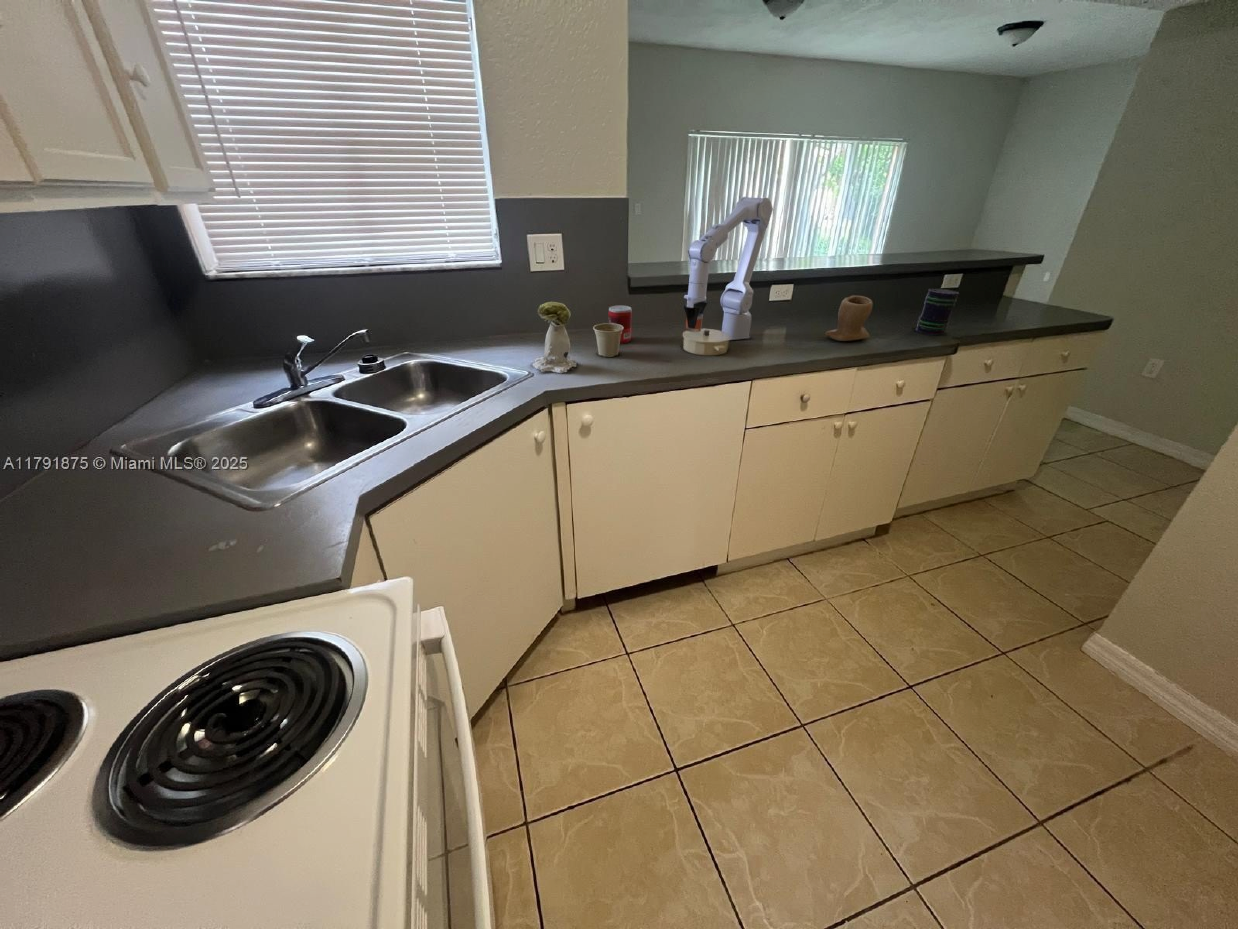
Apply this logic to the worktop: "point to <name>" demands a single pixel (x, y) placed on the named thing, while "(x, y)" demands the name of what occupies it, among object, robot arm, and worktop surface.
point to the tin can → (698, 324)
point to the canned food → (621, 320)
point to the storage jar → (936, 311)
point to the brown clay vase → (852, 319)
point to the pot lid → (707, 336)
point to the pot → (705, 347)
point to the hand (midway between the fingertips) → (693, 325)
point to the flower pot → (608, 338)
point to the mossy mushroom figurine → (555, 339)
